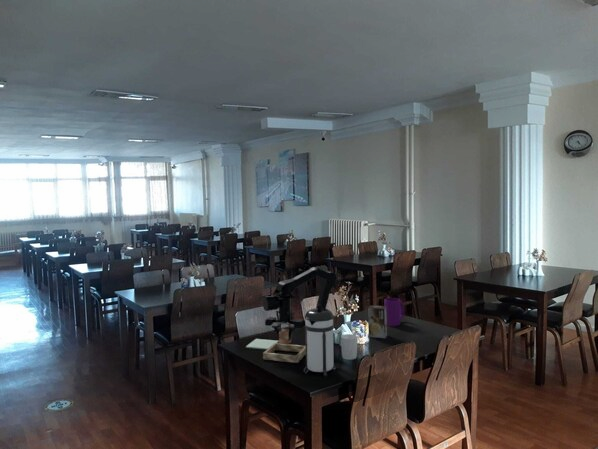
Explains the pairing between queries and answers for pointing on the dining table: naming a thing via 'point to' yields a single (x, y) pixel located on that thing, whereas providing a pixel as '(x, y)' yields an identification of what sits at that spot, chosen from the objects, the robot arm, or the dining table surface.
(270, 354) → the pine frame
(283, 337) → the terracotta block
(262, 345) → the sage board
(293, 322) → the robot arm
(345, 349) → the white cup
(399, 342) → the dining table surface
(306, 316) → the coffee press
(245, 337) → the dining table surface
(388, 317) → the mug
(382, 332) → the coffee box
